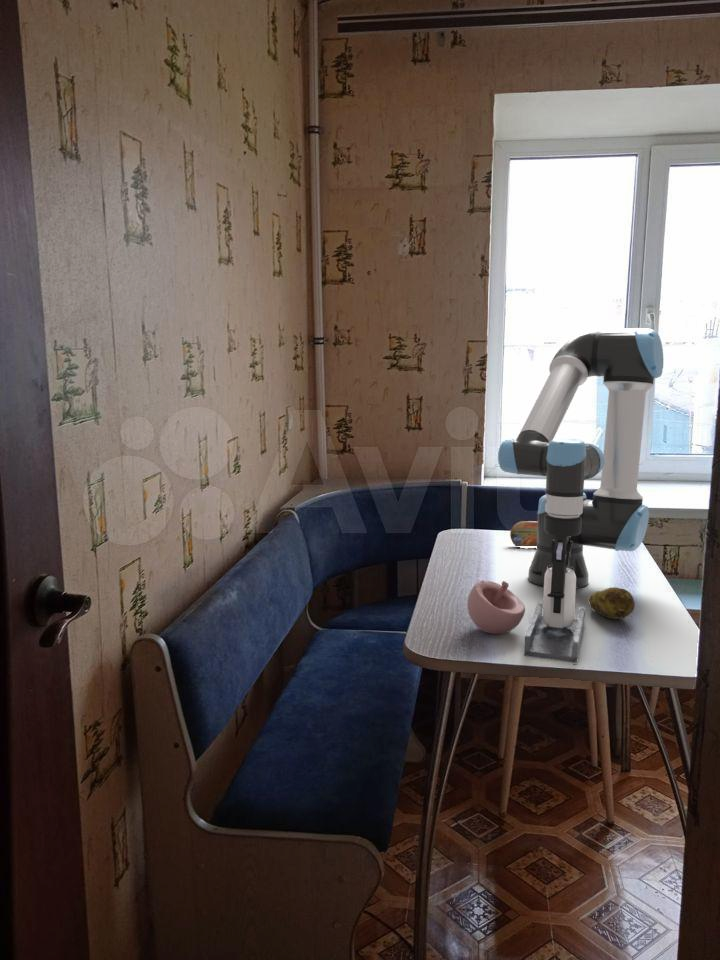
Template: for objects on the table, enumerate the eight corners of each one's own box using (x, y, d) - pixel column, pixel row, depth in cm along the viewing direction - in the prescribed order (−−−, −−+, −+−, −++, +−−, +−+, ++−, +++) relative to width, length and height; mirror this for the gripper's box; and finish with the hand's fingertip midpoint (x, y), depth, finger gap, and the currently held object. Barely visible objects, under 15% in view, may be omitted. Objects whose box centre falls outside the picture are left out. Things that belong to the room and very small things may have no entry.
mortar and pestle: (513, 646, 154) (515, 592, 152) (458, 635, 160) (459, 583, 158) (531, 628, 165) (533, 577, 163) (478, 618, 170) (479, 569, 169)
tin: (510, 549, 232) (511, 521, 231) (508, 546, 235) (509, 519, 234) (560, 549, 232) (561, 522, 230) (558, 547, 235) (559, 520, 233)
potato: (623, 610, 177) (625, 576, 175) (637, 630, 164) (639, 594, 163) (586, 608, 178) (588, 575, 176) (597, 628, 165) (599, 592, 164)
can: (572, 630, 158) (574, 574, 156) (540, 626, 160) (542, 570, 158) (575, 620, 164) (578, 566, 162) (544, 616, 166) (547, 562, 164)
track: (537, 619, 170) (538, 602, 170) (584, 624, 167) (585, 607, 166) (524, 655, 150) (524, 636, 149) (576, 662, 146) (577, 642, 146)
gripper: (549, 504, 168) (545, 605, 172) (539, 522, 150) (534, 634, 154) (585, 507, 166) (579, 609, 169) (578, 525, 148) (573, 639, 151)
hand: (558, 621), depth 162 cm, fingers closed on can, 6 cm apart
